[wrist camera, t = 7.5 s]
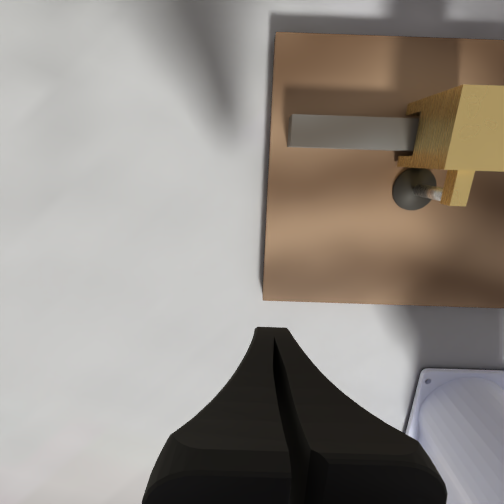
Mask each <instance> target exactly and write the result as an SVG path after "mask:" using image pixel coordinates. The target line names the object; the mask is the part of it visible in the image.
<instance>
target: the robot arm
mask: <svg viewBox="0 0 504 504" xmlns="http://www.w3.org/2000/svg"><path fill="white" fill-rule="evenodd" d="M426 379H428V380H426ZM425 380H426V381H425ZM142 504H504V371H501V370H470V369H438V368H426V369H423V370H422V372H421V374H420V378H419V382H418V386H417V390H416V394H415V398H414V402H413V406H412V410H411V414H410V418H409V422H408V426H407V429H406V433H405V434H404V433H403V432H401V431H399V430H397V429H395V428H394V427H392V426H390V425H388V424H387V423H385V422H383V421H382V420H380V419H379V418H377V417H376V416H374V415H372V414H371V413H369V412H368V411H367V410H365V409H364V408H362V407H361V406H359V405H358V404H357V403H355V402H354V401H353V400H352V399H350V398H349V397H348V396H346V395H345V394H344V393H343V392H342V391H340V390H339V389H338V388H337V387H336V386H335V385H334V384H333V383H331V382H330V381H329V380H328V379H327V378H326V377H325V376H324V375H323V374H322V373H321V372H320V371H319V369H318V368H317V367H316V366H315V365H314V364H313V363H312V361H311V360H310V359H309V358H308V357H307V355H306V354H305V353H304V351H303V350H302V349H301V347H300V346H299V345H298V343H297V342H296V340H295V339H294V338H293V336H292V334H291V333H290V331H289V330H288V329H287V328H276V327H257V328H256V329H255V331H254V336H253V339H252V342H251V344H250V346H249V348H248V350H247V353H246V355H245V356H244V358H243V360H242V362H241V363H240V365H239V367H238V368H237V370H236V371H235V373H234V374H233V376H232V377H231V379H230V380H229V381H228V382H227V384H226V385H225V386H224V387H223V389H222V390H221V391H220V392H219V393H218V394H217V396H216V397H215V398H214V399H213V400H212V401H211V402H210V403H209V404H208V405H207V406H206V407H204V408H203V409H202V410H201V411H200V412H199V413H198V414H197V415H196V416H195V417H194V418H192V419H191V420H190V421H189V422H187V423H186V424H185V425H183V426H182V427H181V428H179V429H178V430H177V431H175V432H174V433H172V434H171V435H170V436H169V438H168V440H167V442H166V443H165V445H164V447H163V449H162V451H161V453H160V455H159V457H158V459H157V461H156V463H155V466H154V468H153V470H152V473H151V475H150V478H149V481H148V484H147V487H146V490H145V493H144V496H143V500H142Z"/></svg>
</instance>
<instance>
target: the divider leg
mask: <svg viewBox="0 0 504 504" xmlns="http://www.w3.org/2000/svg"><path fill="white" fill-rule="evenodd" d="M406 116H420V119H419V124H418V130H417V135H416V140H415V146H414V151H413V156H399V157H398V163H397V167H409V168H426V169H442V170H447V174H446V179H445V183H444V188H442V187H436V186H429V185H423V184H418V185H416V186H415V187H414V189H413V193H414V194H415V195H416V196H420V197H425V198H429V199H433V200H437V201H440V204H444V205H448V206H466V205H467V201H468V197H469V193H470V189H471V185H472V181H473V177H474V173H475V171H498V172H504V86H497V85H468V84H463V85H460V86H457V87H454V88H451V89H449V90H446V91H443V92H440V93H437V94H434V95H432V96H429V97H426V98H423V99H420V100H417V101H415V102H412V103H409V104H408V106H407V111H406Z"/></svg>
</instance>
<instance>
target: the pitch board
mask: <svg viewBox="0 0 504 504" xmlns="http://www.w3.org/2000/svg"><path fill="white" fill-rule="evenodd" d="M463 84H468V85H497V86H504V40H487V39H459V38H431V37H403V36H375V35H347V34H319V33H291V32H276V35H275V41H274V62H273V83H272V104H271V125H270V146H269V167H268V188H267V208H266V229H265V250H264V271H263V292H262V294H263V300H265V301H296V302H326V303H357V304H388V305H418V306H449V307H479V308H504V172H498V171H475V173H474V177H473V181H472V185H471V189H470V193H469V197H468V201H467V205H466V206H448V205H444V204H440V201H437V200H433V199H429V198H425V197H420V196H416V195H415V194H414V193H413V189H414V187H415V186H416V185H418V184H423V185H429V186H436V187H442V188H444V183H445V179H446V174H447V170H442V169H426V168H409V167H397V163H398V157H399V156H413V151H414V146H415V140H416V135H417V130H418V124H419V119H420V116H406V111H407V106H408V104H409V103H412V102H415V101H417V100H420V99H423V98H426V97H429V96H432V95H434V94H437V93H440V92H443V91H446V90H449V89H451V88H454V87H457V86H460V85H463Z"/></svg>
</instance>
